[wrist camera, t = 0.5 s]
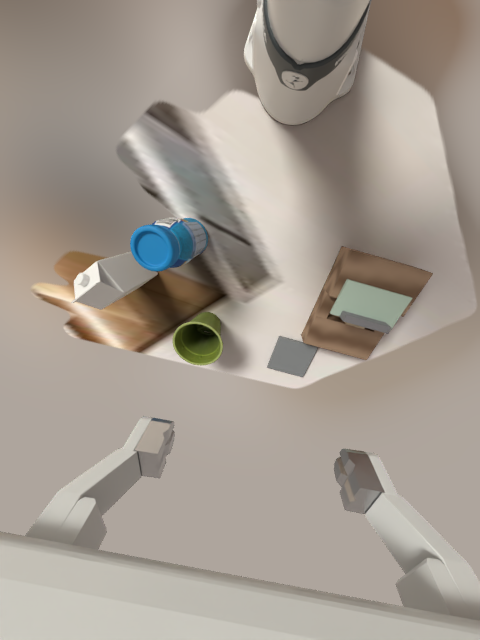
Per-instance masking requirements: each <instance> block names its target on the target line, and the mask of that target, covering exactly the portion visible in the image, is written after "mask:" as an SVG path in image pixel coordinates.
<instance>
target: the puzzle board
mask: <svg viewBox="0 0 480 640" xmlns="http://www.w3.org/2000/svg"><path fill="white" fill-rule="evenodd" d="M432 274H433V273H431V272H428V271H425V270H422V269H419V268H416V267H413V266H409V265H406V264H402V263H399V262H395V261H392V260H388V259H385V258H381V257H378V256H374V255H371V254H367V253H364V252H360V251H357V250H354V249H350V248H347V247H343V246H342V247H341V249H340V252H339V254H338V256H337V258H336V260H335V263H334V265H333V267H332V269H331V271H330V273H329V276H328V278H327V280H326V282H325V284H324V287H323V289H322V291H321V293H320V295H319V297H318V300H317V302H316V304H315V306H314V308H313V311H312V313H311V315H310V317H309V319H308V321H307V324H306V326H305V328H304V330H303V332H302V335H301V336H302V339H303V342H304V343H306V344H309V345H313V346H317V347H320V348H324V349H328V350H331V351H335V352H339V353H342V354H346V355H350V356H353V357H357V358H361V359H364V360H367V359H368V357H369V356H370V354H371V353H372V351H373V350H374V348H375V347H376V345H377V344H378V342H379V341H380V339H381V338H382V336H383V335H384V333H383V332H379V331H376V330H372V329H369V328H365V329H362V328H358V327H354V326H351V325H347V324H345V322H343V320H342V319H341V318H340V317H339V316H336V315H333V314H330V311H331V309H332V307H333V305H334V303H335V301H336V299H337V297H338V295H339V293H340V291H341V289H342V287H343V285H344V283H345V281H346V279H349V280H352V281H356V282H359V283H363V284H366V285H370V286H373V287H377V288H380V289H384V290H388V291H391V292H395V293H398V294H402V295H405V296H409V297H411V298H412V300H411V301H410V303H409V304H408V306H407V307H406V309H405V310H404V312H403V313H402V314H401V316H402V317H403V316H404V315H405V313H406V312H407V311H408V309H409V308H410V306H411V305H412V303H413V302H414V300H415V299H416V297H417V296H418V295H419V293H420V292H421V290H422V289H423V287H424V286H425V284H426V283H427V282H428V280H429V279H430V277H431V276H432Z"/></svg>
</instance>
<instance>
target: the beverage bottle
mask: <svg viewBox="0 0 480 640" xmlns="http://www.w3.org/2000/svg"><path fill="white" fill-rule="evenodd" d="M207 243H208V235H207V231H206V229H205V227H204V226H203V225H202V224H201V223H200V222H199V221H197V220H195V219H192V218H184V219H178V218H166V219H160V220H157V221H156V222H154V223H153V224H152V225H145V226H142V227H140V228H138V229H137V230H136V231H135V232H134V233H133V235H132V238H131V243H130V245H131V251H132V254H133V256H134V258H135V260H136V261H137V262H138V263H139V264H140V265H141V266H142V267H144V268H145V269H147V270H150V271H163V270H165V269H167V268H169V267H170V268H174V267H179V266H181V265H183V264H186V263H188V262H189V261H190V260H192V258H194V257H196V256H197V255H199V254H201V253H202V252H203V251H204V250H205V248H206V247H207Z"/></svg>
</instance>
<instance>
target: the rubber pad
mask: <svg viewBox="0 0 480 640" xmlns="http://www.w3.org/2000/svg"><path fill="white" fill-rule="evenodd" d="M317 349H318V347H317V346H313V345H309V344H306V343H304V342H300V341H296V340H293V339H289V338H285V337H282V336H279V338H278V341H277V343H276V346H275V348H274V351H273V353H272V356H271V358H270V361H269V363H268V366H267V368H271V369H274V370H278V371H282V372H285V373H289V374H293V375H297V376H300V377H303V376H304V374H305V372H306V370H307V368H308V366H309V364H310V362H311V360H312V358H313V357H314V355H315V353H316V351H317Z"/></svg>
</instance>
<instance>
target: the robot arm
mask: <svg viewBox="0 0 480 640" xmlns="http://www.w3.org/2000/svg"><path fill="white" fill-rule="evenodd" d="M370 4H371V0H257V7H258V8H257V11H256V14H255V18H254V20H253V24H252V27H251V30H250V33H249V36H248V39H247V42H246V45H245V49H244V60H245V63H246V65H247V67H248V68H249V70H250V71H251V73H252V74H253V76H254V79H255V82H256V86H257V91H258V94H259V97H260V100H261V102H262V104H263V106H264V108H265V109H266V111H267V112H268V113H269V114H270V115H271V116H272V117H273V118H274V119H275V120H277V121H279V122H281V123H284V124H288V125H298V124H302V123H305V122H308V121H310V120H311V119H313V118H314V117H316V116H317V115H318V114H320V113H321V112H322V111H323V110H324V108H325V107H326V106H327V105H328V104H329V103H330V102H332V101H333V100H335V99H337V98H339V97H341V96H343V95H345V94H346V93H348V92H349V91H350V89H351V87H352V85H353V83H354V79H355V74H356V69H357V65H358V60H359V55H360V51H361V46H362V41H363V37H364V32H365V27H366V22H367V18H368V13H369V8H370ZM349 72H350V75H348V74H349ZM173 428H174V422H173V421H169V420H163V419H157V418H152V417H146V416H143V417H142V418H141V419H140V420H139V422H138V423H137V425H136V427H135V428H134V430H133V431H132V433H131V435H130V436H129V438H128V440H127V441H126V443H125V445H124V446H123V448H122V449H120V448H119V449H117V450H116V451H114V452H113V453H111V454H110V455H109V456H107V457H106V458H104V459H103V460H102V461H100V462H99V463H97V464H96V465H94V466H93V467H92V468H90V469H89V470H88V471H86V472H85V473H83V474H82V475H80V476H79V477H77V478H76V479H75V480H73V481H72V482H70V483H69V484H68V485H66V486H65V487H64V488H62V489H61V490H59V491H58V492H57V494H56V495H55V496H54V498H53V499H52V500H51V502H50V503H49V504H48V506H47V507H46V508H45V510H44V511H43V512H42V514H41V515H40V516H39V518H38V519H37V520H36V522H35V523H34V524H33V526H32V527H31V528H30V530H29V531H28V533H27V534H26V535H25V536H22V535H16V534H11V533H6V532H0V640H480V582H479V580H478V578H477V577H476V575H475V573H474V572H473V570H472V568H471V567H470V565H469V564H468V563H467V562H466V561H465V559H464V558H463V557H462V556H461V555H460V554H459V553H458V552H456V550H454V548H453V547H452V546H451V545H450V544H449V543H448V542H447V541H446V540H445V539H444V538H443V537H442V536H441V535H440V534H439V533H438V532H437V531H436V530H435V529H434V528H433V527H432V526H431V525H430V524H429V523H428V522H427V521H426V520H425V519H424V518H423V517H422V516H421V515H420V514H419V513H418V512H417V511H416V510H415V509H414V508H413V507H412V506H411V505H410V504H409V503H408V502H407V501H406V500H405V499H404V498H403V497H402V496H400V495H398V493H397V491H396V489H395V488H394V485H393V484H392V481H391V479H390V477H389V475H388V473H387V472H386V469H385V468H384V465H383V463H382V461H381V459H380V458H379V456H378V455H377V454H375V453H368V452H363V451H356V450H350V449H342V450H341V451H340V456H341V457H339V458H337V459H336V461H335V464H334V472H335V477H336V481H337V482H338V483H339V485H340V486H341V490H340V495H341V498H342V502H343V505H344V509H345V510H347V511H352V512H356V513H362V514H365V517H366V518H367V520H368V521H369V523H370V524H371V525H372V527H373V528H374V530H375V531H376V533H377V534H378V535H379V537H380V538H381V540H382V541H383V543H384V544H385V545H386V547H387V548H388V550H389V551H390V552H391V554H392V555H393V557H394V558H395V559H396V561H397V562H398V564H399V565H400V567H401V568H402V570H403V571H404V572H405V575H404V576H403V577H402V578H400V579H399V580H398V581H397V583H396V587H397V589H398V592H399V595H400V598H401V601H402V604H403V606H404V607H403V606H397V605H392V604H387V603H381V602H376V601H371V600H366V599H360V598H355V597H350V596H344V595H339V594H333V593H328V592H323V591H317V590H312V589H306V588H301V587H295V586H290V585H284V584H279V583H274V582H268V581H264V580H258V579H252V578H247V577H242V576H237V575H231V574H226V573H220V572H215V571H210V570H204V569H199V568H194V567H188V566H183V565H178V564H172V563H166V562H161V561H156V560H150V559H145V558H140V557H134V556H129V555H124V554H118V553H113V552H107V551H102V550H98V549H99V547H100V545H101V543H102V541H103V539H104V537H105V535H106V533H107V531H106V527H105V524H104V521H103V519H102V515H103V514H104V513H105V512H106V511H107V510H109V509H110V507H112V506H113V505H114V504H115V503H116V502H117V501H118V500H119V499H120V498H121V497H122V496H123V495H124V494H125V493H126V492H127V491H128V490H129V489H130V488H131V487H132V486H133V485H134V484H135V483H136V482H137V481H138V480H139V479H140V478H141V476H147V477H154V478H160V477H161V474H162V472H163V469H164V467H165V464H166V456H167V455H168V454H169V453H170V451H171V449H172V446H173V442H174V436H175V434H174V431H173Z"/></svg>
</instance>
